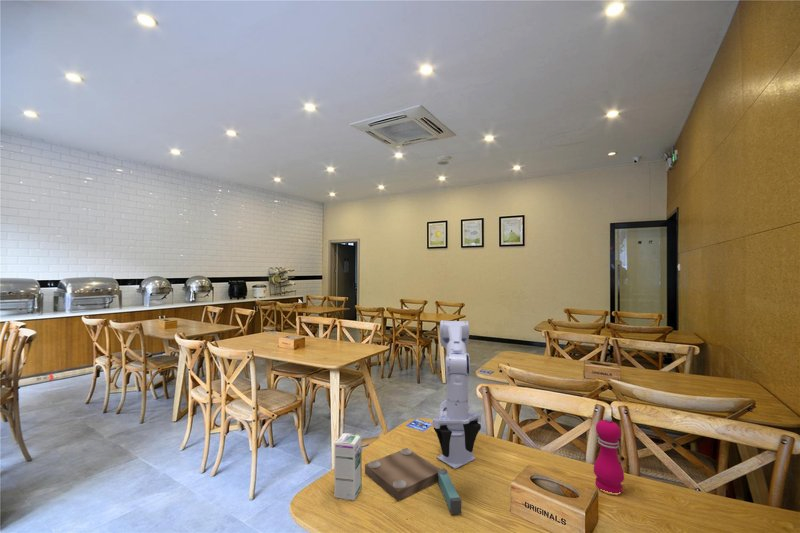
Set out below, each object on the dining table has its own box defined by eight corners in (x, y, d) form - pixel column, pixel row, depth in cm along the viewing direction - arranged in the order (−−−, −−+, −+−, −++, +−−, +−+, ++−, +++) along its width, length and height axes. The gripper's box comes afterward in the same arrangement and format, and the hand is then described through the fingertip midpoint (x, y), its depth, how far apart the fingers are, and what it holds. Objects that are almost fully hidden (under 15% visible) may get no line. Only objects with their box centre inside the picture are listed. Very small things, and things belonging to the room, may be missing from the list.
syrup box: (354, 501, 89) (355, 444, 89) (333, 498, 90) (334, 441, 90) (361, 487, 94) (362, 434, 95) (341, 485, 95) (342, 432, 96)
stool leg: (436, 480, 98) (437, 468, 98) (445, 479, 98) (445, 468, 98) (451, 514, 84) (451, 501, 84) (461, 513, 84) (461, 500, 84)
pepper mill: (626, 488, 95) (626, 415, 96) (621, 500, 90) (620, 423, 90) (597, 477, 100) (597, 408, 101) (590, 488, 95) (590, 415, 95)
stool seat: (406, 455, 111) (406, 447, 111) (442, 479, 99) (442, 469, 99) (364, 473, 101) (364, 463, 101) (398, 501, 89) (398, 490, 89)
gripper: (443, 406, 86) (443, 464, 84) (488, 400, 93) (488, 454, 91) (428, 399, 92) (427, 453, 90) (471, 394, 99) (471, 444, 97)
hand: (457, 453), depth 91 cm, fingers open, 7 cm apart
